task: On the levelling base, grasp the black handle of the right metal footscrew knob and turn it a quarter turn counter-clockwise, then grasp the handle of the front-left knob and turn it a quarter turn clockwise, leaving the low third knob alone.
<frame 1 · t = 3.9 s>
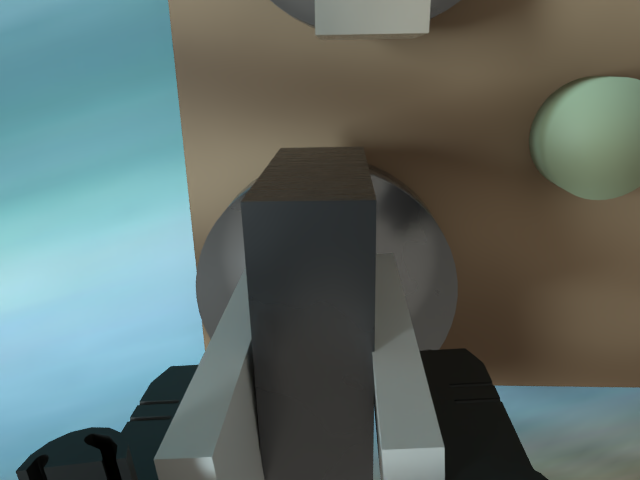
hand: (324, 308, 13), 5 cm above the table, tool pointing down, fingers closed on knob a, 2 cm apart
knob a: (322, 332, 12), point 6 cm above the table, hinge at 0.6°, touching gripper
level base: (527, 92, 15), on the table
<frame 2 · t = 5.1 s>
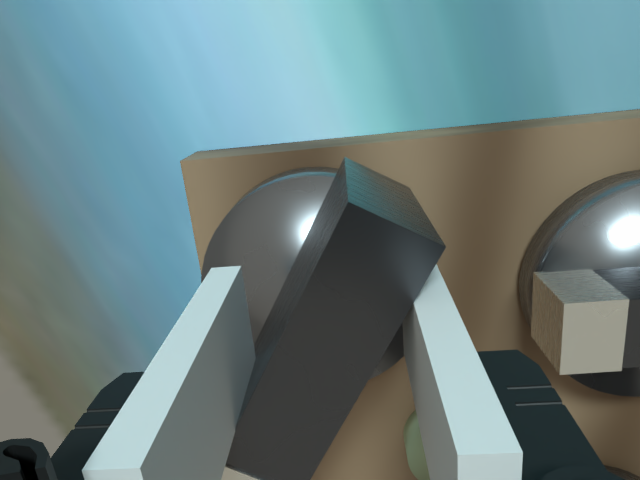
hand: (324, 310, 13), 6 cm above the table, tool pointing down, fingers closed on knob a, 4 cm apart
knob a: (313, 320, 13), point 6 cm above the table, hinge at 59.5°, touching gripper
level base: (458, 377, 20), on the table
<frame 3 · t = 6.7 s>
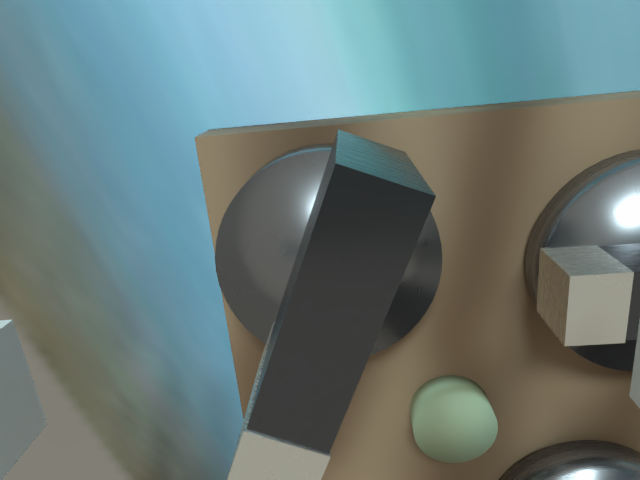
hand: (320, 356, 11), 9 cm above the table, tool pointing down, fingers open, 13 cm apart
knob a: (325, 291, 14), point 6 cm above the table, hinge at 66.9°
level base: (463, 355, 21), on the table
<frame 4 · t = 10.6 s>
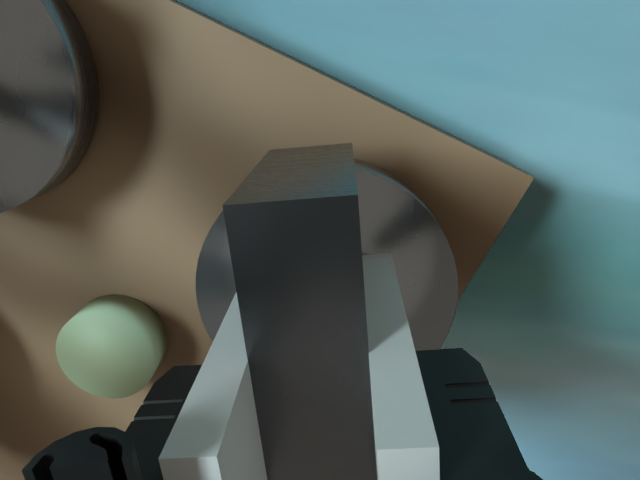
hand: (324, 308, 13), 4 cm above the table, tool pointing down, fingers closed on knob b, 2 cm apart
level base: (126, 273, 18), on the table
knob b: (322, 331, 12), point 6 cm above the table, hinge at 0.0°, touching gripper
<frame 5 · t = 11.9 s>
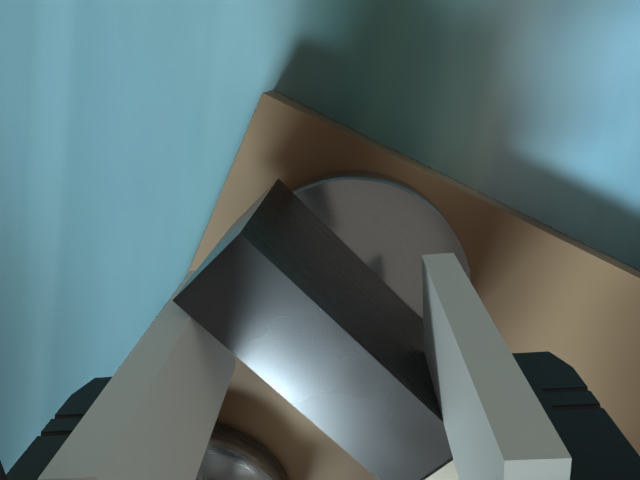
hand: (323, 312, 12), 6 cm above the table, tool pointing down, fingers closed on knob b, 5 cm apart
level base: (374, 413, 21), on the table
knob b: (353, 325, 13), point 6 cm above the table, hinge at -49.6°, touching gripper
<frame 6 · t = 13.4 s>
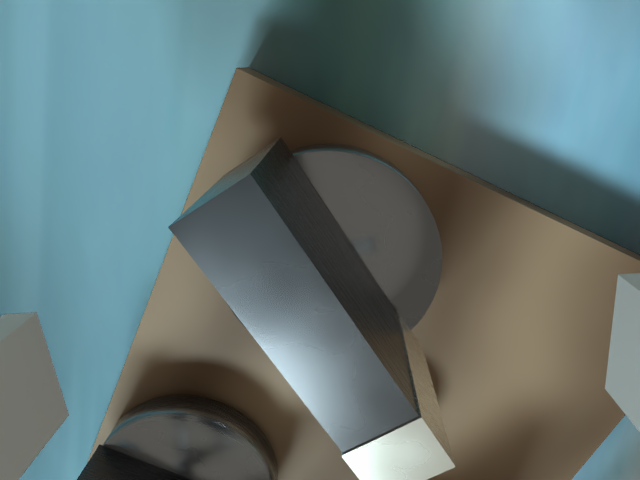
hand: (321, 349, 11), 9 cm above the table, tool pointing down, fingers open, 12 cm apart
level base: (355, 385, 21), on the table
knob b: (326, 290, 14), point 6 cm above the table, hinge at -62.4°
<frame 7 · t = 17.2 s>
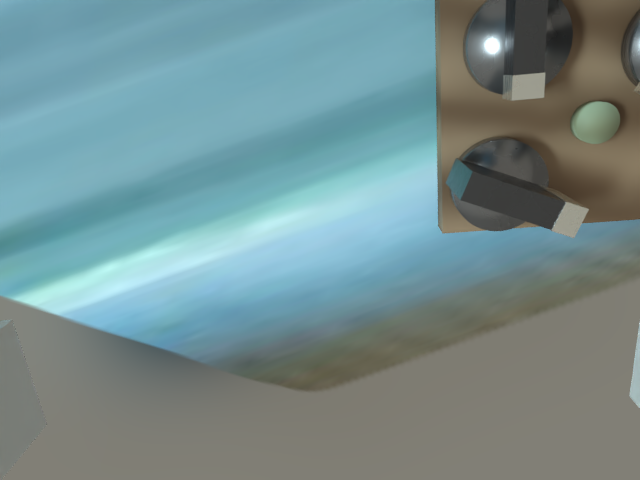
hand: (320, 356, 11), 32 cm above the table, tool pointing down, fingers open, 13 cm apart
knob a: (508, 192, 36), point 6 cm above the table, hinge at 67.1°
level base: (566, 106, 39), on the table
knob c: (521, 43, 34), point 4 cm above the table, hinge at 0.0°
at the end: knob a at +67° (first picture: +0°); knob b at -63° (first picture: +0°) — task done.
